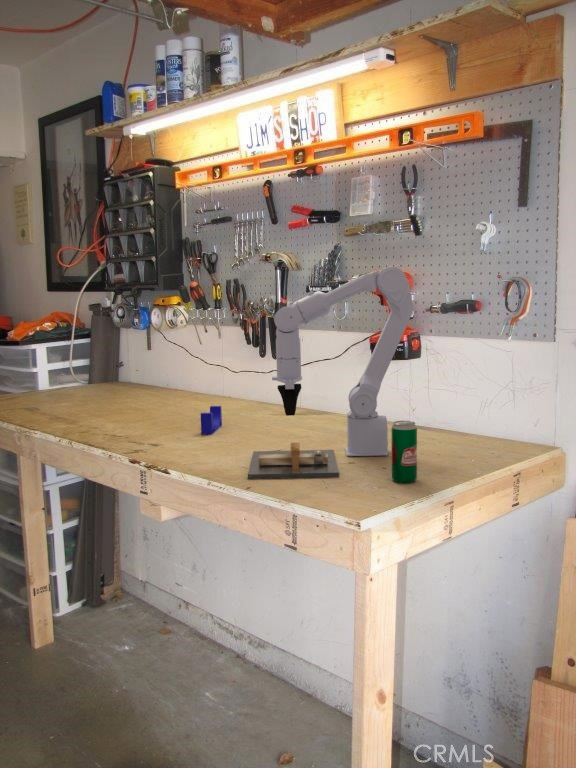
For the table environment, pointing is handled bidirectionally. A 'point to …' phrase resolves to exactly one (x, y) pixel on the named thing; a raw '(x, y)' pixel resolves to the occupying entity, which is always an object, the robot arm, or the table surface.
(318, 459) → the link
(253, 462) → the base plate
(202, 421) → the blue u-shaped block
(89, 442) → the table surface
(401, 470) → the soda can
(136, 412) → the table surface
